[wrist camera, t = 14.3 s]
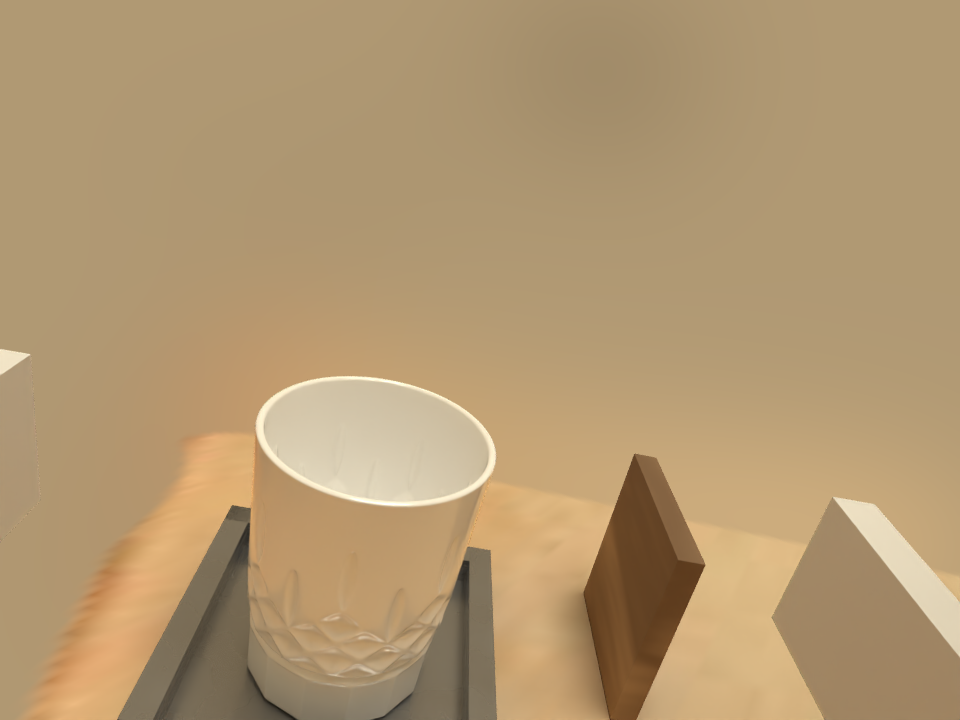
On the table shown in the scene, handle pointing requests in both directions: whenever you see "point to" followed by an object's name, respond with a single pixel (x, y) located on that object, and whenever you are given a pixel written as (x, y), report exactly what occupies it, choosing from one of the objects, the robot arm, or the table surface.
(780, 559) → the table surface
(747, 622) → the table surface
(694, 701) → the table surface
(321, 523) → the white cup
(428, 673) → the frame
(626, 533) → the door edge slab
